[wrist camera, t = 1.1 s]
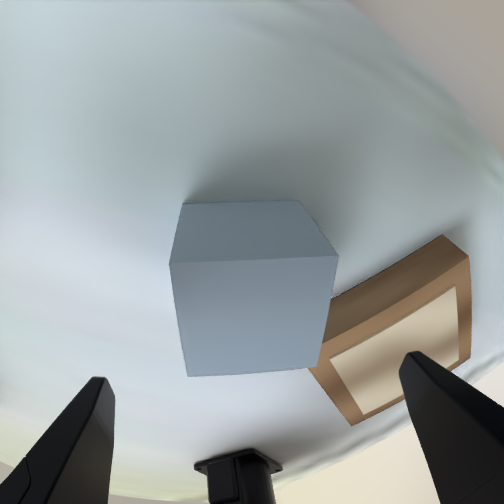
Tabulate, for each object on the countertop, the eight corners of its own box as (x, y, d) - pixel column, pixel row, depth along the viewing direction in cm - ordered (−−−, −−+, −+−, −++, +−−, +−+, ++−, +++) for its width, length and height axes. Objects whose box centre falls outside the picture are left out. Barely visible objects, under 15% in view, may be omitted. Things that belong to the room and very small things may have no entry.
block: (298, 199, 14) (338, 255, 10) (290, 293, 16) (316, 366, 12) (182, 202, 13) (169, 263, 9) (191, 298, 16) (187, 376, 11)
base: (454, 336, 20) (471, 359, 18) (341, 400, 22) (352, 427, 19) (442, 234, 16) (470, 257, 13) (288, 322, 17) (299, 357, 15)
